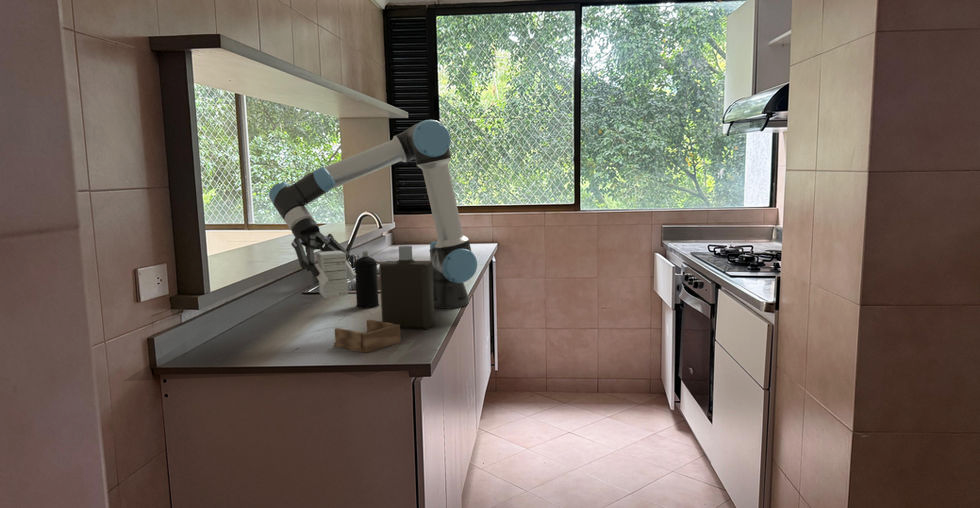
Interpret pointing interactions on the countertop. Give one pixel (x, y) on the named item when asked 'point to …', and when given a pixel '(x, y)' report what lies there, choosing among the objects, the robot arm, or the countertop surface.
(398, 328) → the u rest
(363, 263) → the aerosol can
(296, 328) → the countertop surface
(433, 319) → the bottle
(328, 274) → the supplement box
